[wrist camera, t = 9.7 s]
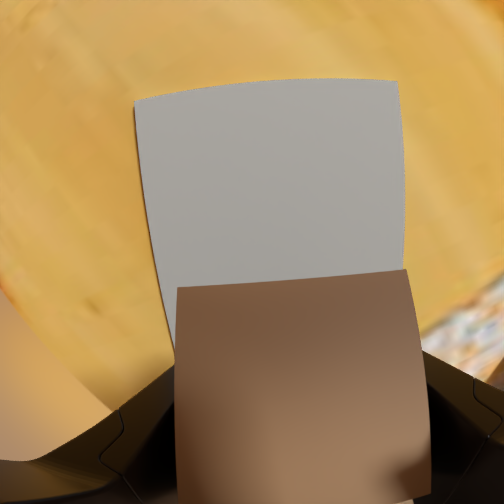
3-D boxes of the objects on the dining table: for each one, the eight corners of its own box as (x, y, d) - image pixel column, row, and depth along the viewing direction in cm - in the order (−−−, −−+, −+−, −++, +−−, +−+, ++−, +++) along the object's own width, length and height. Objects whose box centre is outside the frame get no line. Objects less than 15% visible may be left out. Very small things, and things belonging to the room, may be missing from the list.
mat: (386, 374, 17) (388, 377, 17) (187, 390, 18) (186, 393, 18) (394, 82, 12) (397, 81, 12) (136, 102, 13) (134, 100, 13)
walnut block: (340, 443, 13) (430, 493, 4) (244, 450, 13) (179, 517, 4) (333, 353, 15) (405, 269, 6) (241, 360, 15) (177, 287, 6)
